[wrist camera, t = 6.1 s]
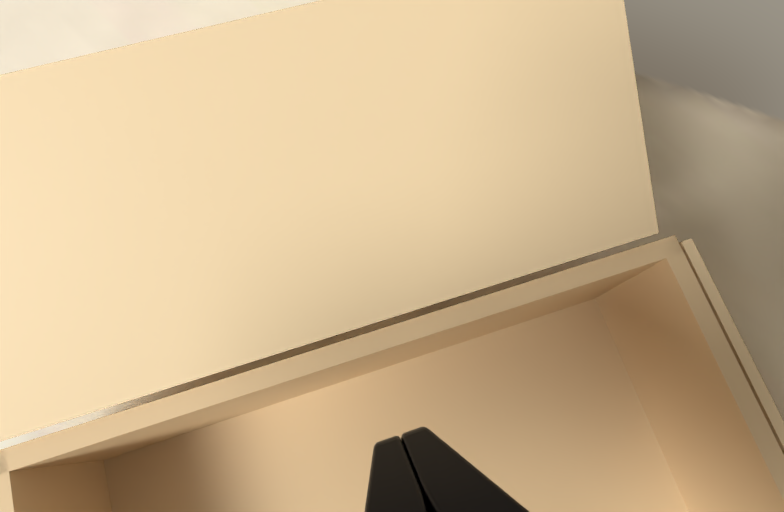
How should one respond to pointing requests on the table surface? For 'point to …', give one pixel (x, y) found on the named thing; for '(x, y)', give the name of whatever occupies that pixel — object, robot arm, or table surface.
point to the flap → (299, 184)
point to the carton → (459, 409)
